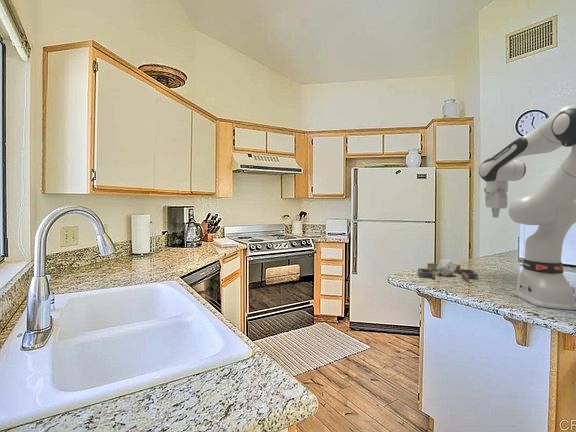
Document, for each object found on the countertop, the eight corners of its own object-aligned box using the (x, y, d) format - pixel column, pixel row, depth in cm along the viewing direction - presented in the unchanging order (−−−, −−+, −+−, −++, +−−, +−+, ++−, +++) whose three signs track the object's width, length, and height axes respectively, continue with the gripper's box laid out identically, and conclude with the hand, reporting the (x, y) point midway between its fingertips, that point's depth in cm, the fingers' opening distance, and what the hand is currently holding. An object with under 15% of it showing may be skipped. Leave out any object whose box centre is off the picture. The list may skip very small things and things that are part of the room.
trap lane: (481, 283, 143) (481, 274, 143) (420, 278, 151) (420, 270, 151) (471, 273, 161) (471, 265, 161) (416, 269, 169) (416, 262, 169)
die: (433, 276, 158) (442, 263, 152) (434, 265, 165) (442, 252, 159) (449, 283, 156) (459, 270, 150) (450, 271, 163) (459, 258, 157)
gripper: (512, 188, 142) (510, 218, 142) (497, 189, 161) (496, 216, 162) (496, 188, 143) (494, 218, 144) (483, 189, 163) (482, 216, 164)
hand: (495, 217), depth 153 cm, fingers closed
